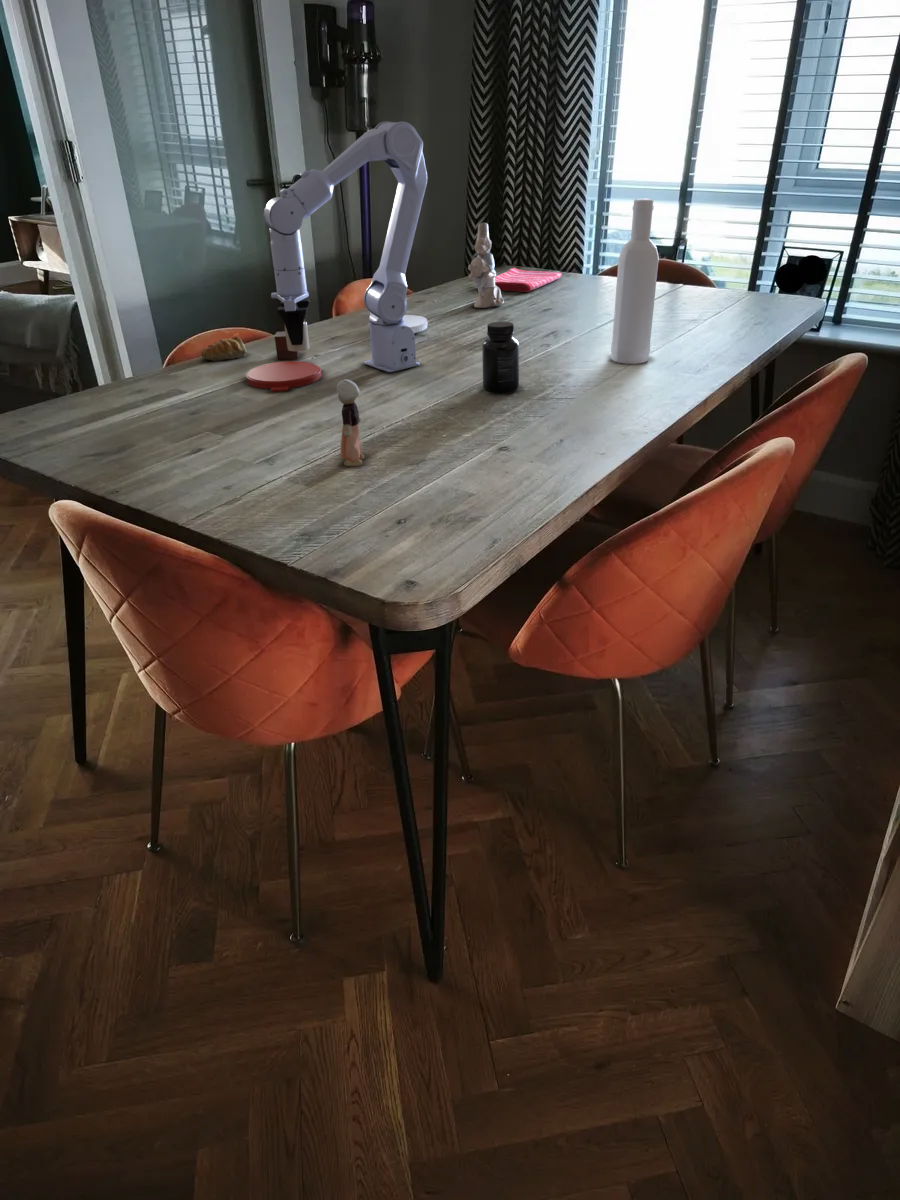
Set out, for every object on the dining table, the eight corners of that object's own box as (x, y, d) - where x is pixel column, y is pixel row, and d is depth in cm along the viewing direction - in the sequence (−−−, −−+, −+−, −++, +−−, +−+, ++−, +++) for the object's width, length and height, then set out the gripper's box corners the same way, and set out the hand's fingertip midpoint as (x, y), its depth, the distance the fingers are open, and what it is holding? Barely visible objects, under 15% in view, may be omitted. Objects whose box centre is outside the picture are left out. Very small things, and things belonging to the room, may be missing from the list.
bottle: (656, 358, 167) (673, 198, 151) (636, 366, 162) (651, 202, 147) (623, 351, 172) (636, 196, 156) (602, 360, 167) (614, 200, 151)
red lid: (251, 369, 168) (250, 362, 168) (323, 365, 169) (322, 359, 169) (240, 393, 154) (239, 386, 154) (318, 389, 155) (317, 382, 154)
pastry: (210, 364, 173) (206, 346, 171) (197, 358, 177) (193, 340, 175) (249, 355, 178) (246, 338, 176) (236, 350, 182) (233, 333, 180)
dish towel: (476, 289, 233) (476, 279, 232) (512, 275, 250) (512, 266, 249) (529, 293, 226) (529, 283, 224) (562, 278, 243) (563, 269, 242)
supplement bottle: (522, 385, 154) (524, 320, 148) (513, 395, 149) (514, 329, 142) (488, 382, 156) (488, 318, 150) (478, 393, 151) (477, 327, 144)
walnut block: (298, 359, 174) (295, 335, 172) (277, 360, 174) (274, 336, 171) (299, 353, 178) (296, 330, 175) (279, 354, 178) (276, 331, 175)
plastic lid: (359, 337, 189) (358, 326, 188) (385, 323, 200) (384, 313, 199) (413, 341, 184) (412, 330, 183) (436, 327, 195) (436, 316, 194)
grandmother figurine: (342, 453, 126) (333, 373, 120) (366, 452, 127) (359, 372, 120) (340, 472, 120) (331, 389, 113) (366, 471, 120) (358, 387, 113)
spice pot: (314, 348, 159) (310, 318, 156) (294, 352, 157) (290, 322, 154) (302, 344, 162) (299, 315, 159) (283, 348, 160) (279, 319, 157)
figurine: (483, 301, 219) (482, 220, 209) (509, 304, 215) (509, 222, 205) (464, 307, 213) (463, 225, 203) (490, 310, 209) (490, 226, 199)
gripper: (271, 262, 158) (281, 333, 165) (263, 276, 145) (274, 351, 153) (307, 261, 158) (315, 331, 165) (302, 274, 146) (311, 350, 153)
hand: (298, 341), depth 159 cm, fingers closed on spice pot, 4 cm apart
